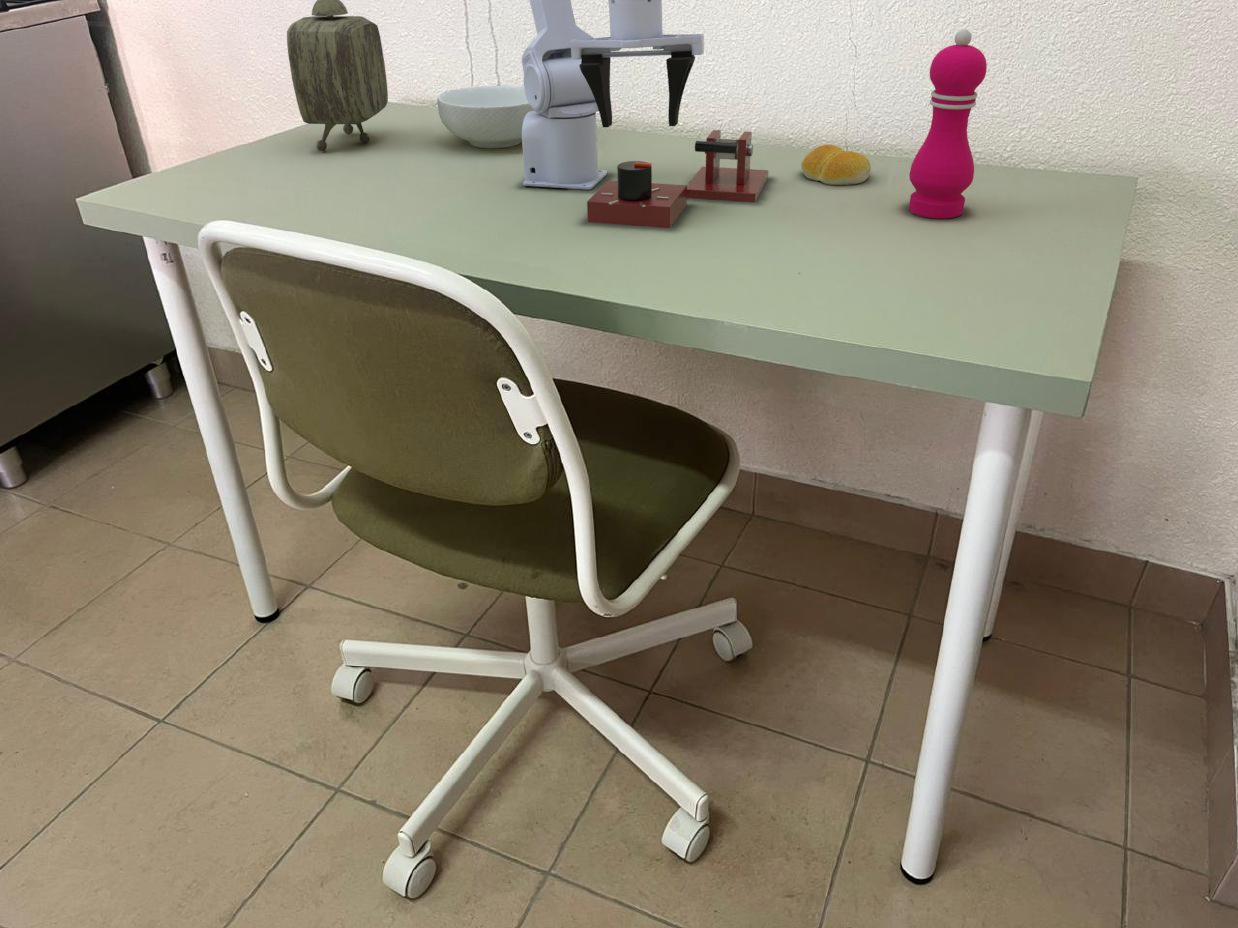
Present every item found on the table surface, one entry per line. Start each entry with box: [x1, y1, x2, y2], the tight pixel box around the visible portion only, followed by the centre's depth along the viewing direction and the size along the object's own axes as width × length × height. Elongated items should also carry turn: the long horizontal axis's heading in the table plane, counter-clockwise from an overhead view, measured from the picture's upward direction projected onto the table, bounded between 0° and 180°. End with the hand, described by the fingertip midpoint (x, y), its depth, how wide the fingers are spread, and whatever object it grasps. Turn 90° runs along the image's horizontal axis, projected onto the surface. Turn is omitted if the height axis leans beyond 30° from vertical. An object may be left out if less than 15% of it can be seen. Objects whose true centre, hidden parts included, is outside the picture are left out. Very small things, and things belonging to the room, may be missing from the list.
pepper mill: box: [908, 29, 988, 220], centre depth 109 cm, size 7×7×20 cm
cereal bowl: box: [436, 85, 535, 149], centre depth 145 cm, size 17×17×7 cm
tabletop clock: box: [286, 0, 389, 152], centre depth 142 cm, size 14×9×25 cm, turn 172°
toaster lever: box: [694, 138, 739, 161], centre depth 118 cm, size 11×5×2 cm, turn 164°
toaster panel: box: [586, 180, 688, 229], centre depth 114 cm, size 10×10×3 cm
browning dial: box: [616, 160, 653, 201], centre depth 112 cm, size 4×4×4 cm
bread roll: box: [800, 144, 872, 186], centre depth 126 cm, size 8×9×4 cm
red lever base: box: [686, 129, 769, 203], centre depth 122 cm, size 11×9×7 cm
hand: (640, 125), depth 109 cm, fingers open, 7 cm apart
